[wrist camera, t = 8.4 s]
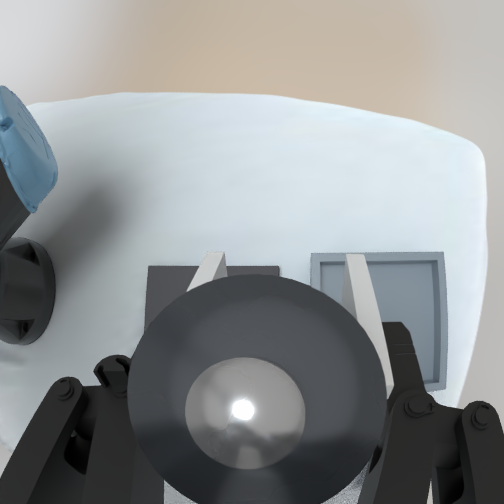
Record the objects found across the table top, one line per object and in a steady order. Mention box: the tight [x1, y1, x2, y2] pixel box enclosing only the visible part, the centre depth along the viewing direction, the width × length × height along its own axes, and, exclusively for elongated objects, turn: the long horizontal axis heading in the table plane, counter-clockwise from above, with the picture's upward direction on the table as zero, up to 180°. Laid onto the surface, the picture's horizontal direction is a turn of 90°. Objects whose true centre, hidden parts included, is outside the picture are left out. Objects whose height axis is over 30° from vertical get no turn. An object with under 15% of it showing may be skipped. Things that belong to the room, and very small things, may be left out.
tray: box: [311, 252, 448, 392], centre depth 28 cm, size 14×14×2 cm
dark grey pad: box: [144, 266, 279, 332], centre depth 32 cm, size 14×12×1 cm
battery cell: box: [127, 274, 387, 504], centre depth 10 cm, size 5×5×12 cm
